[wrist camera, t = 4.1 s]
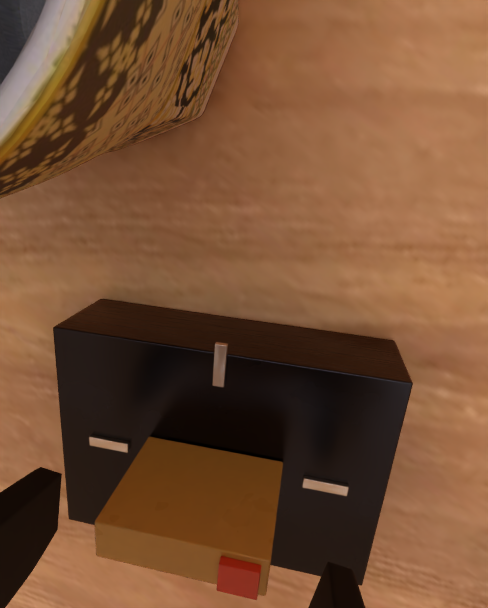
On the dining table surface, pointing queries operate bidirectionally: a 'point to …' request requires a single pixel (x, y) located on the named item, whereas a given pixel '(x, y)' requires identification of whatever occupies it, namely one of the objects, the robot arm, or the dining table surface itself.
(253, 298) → the dining table surface
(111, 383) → the plate
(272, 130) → the dining table surface
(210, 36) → the ceramic cup
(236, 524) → the lock knob
